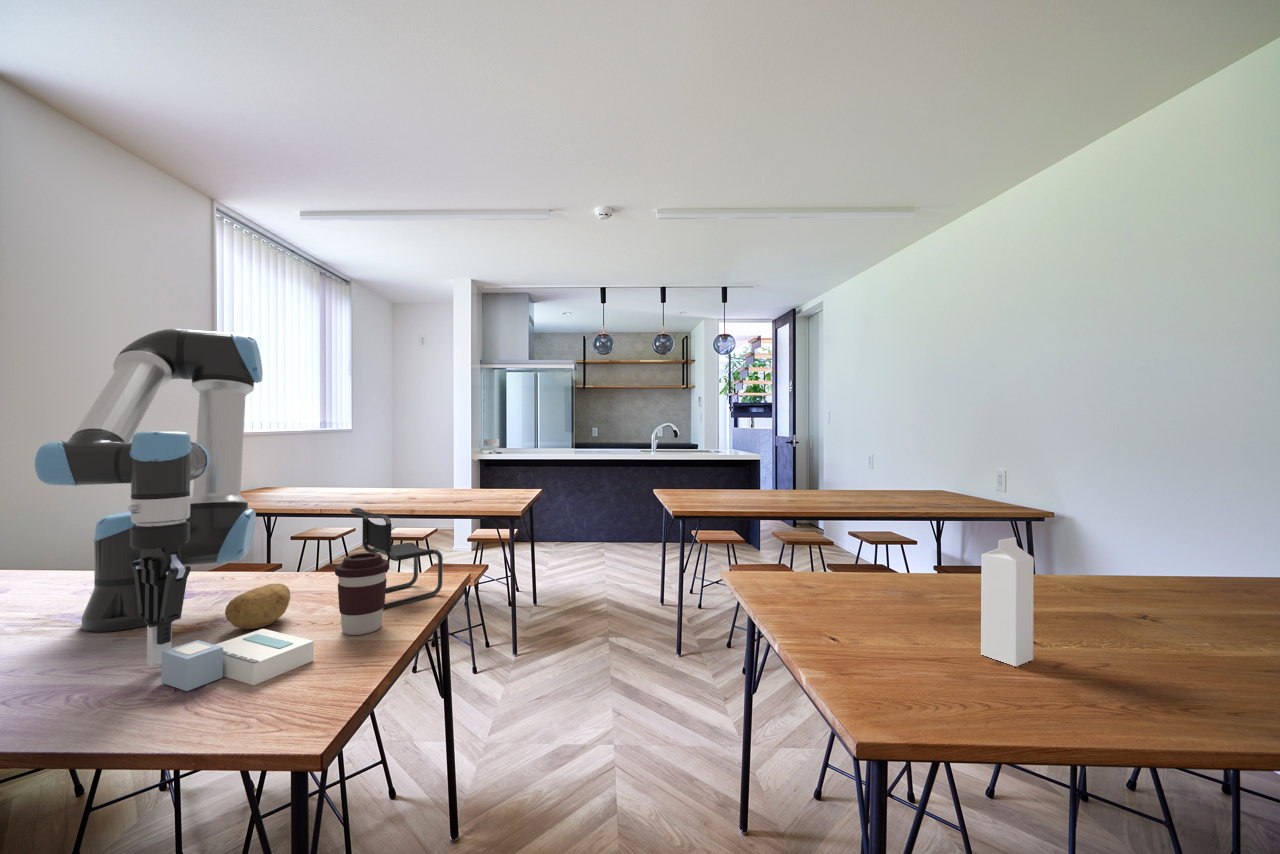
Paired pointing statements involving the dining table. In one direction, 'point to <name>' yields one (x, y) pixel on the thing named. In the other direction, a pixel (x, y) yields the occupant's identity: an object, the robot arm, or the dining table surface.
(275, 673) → the white device
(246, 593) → the potato
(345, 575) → the coffee cup
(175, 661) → the light blue box
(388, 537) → the chair
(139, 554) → the robot arm
